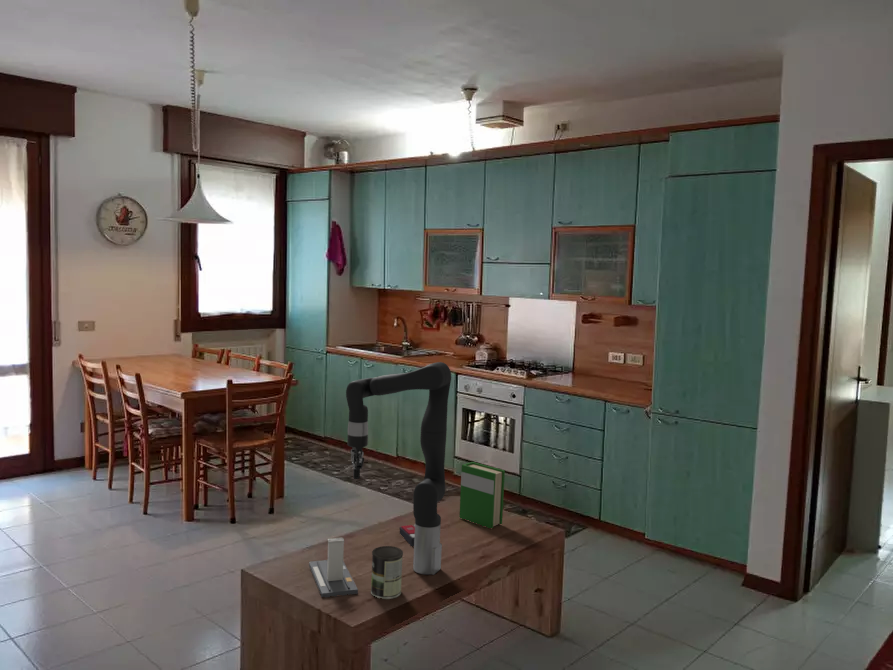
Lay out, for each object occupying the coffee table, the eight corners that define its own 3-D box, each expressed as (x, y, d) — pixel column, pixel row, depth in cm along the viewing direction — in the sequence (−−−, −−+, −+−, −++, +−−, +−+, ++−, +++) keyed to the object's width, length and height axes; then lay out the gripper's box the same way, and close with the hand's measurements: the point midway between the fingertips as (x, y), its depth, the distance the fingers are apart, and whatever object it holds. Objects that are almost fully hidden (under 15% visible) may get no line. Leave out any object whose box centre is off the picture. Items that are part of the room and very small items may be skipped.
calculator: (424, 522, 301) (438, 533, 288) (424, 532, 302) (437, 544, 288) (399, 525, 297) (411, 536, 283) (399, 535, 297) (411, 547, 284)
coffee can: (367, 597, 239) (369, 556, 238) (374, 584, 249) (375, 544, 248) (398, 600, 238) (400, 559, 237) (403, 587, 248) (405, 547, 247)
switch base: (309, 565, 262) (309, 560, 262) (342, 562, 266) (342, 557, 266) (321, 597, 238) (321, 591, 238) (357, 593, 242) (358, 587, 242)
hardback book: (502, 525, 312) (504, 470, 309) (491, 529, 306) (494, 473, 304) (469, 514, 323) (472, 461, 321) (459, 518, 318) (461, 464, 315)
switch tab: (326, 578, 248) (327, 538, 247) (341, 577, 250) (342, 537, 249) (327, 581, 246) (329, 541, 245) (343, 579, 248) (344, 540, 247)
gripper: (371, 436, 266) (370, 483, 267) (363, 428, 278) (362, 472, 280) (351, 437, 263) (350, 484, 265) (344, 429, 275) (342, 474, 277)
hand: (356, 478), depth 272 cm, fingers closed
